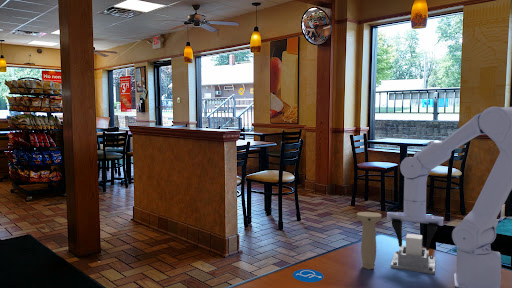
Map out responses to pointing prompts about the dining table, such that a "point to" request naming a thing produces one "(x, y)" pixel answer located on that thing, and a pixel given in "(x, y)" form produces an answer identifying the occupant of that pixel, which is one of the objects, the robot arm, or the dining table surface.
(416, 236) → the block
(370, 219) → the handle
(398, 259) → the bracket
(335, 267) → the dining table surface
